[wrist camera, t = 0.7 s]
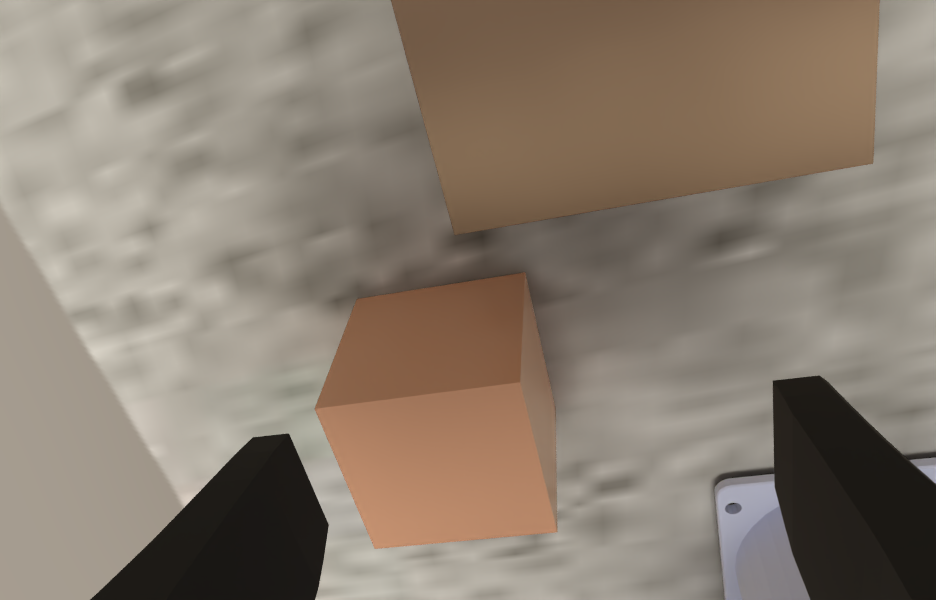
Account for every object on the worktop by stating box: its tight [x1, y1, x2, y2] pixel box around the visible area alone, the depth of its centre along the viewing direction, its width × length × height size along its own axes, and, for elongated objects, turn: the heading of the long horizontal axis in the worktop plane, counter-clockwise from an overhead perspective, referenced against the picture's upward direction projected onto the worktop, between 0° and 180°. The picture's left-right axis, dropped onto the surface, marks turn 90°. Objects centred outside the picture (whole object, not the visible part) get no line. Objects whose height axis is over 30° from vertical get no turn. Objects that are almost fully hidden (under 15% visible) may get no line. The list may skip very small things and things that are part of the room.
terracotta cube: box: [315, 272, 557, 549], centre depth 21 cm, size 5×5×5 cm
